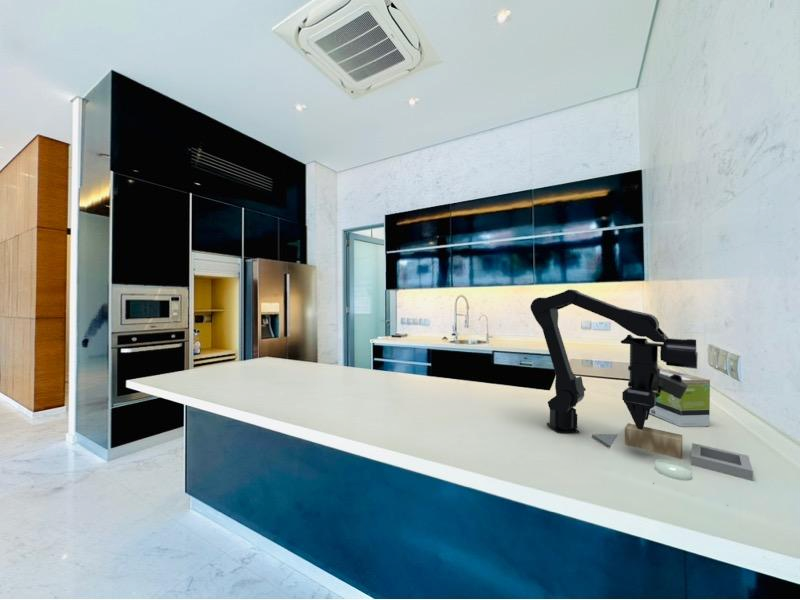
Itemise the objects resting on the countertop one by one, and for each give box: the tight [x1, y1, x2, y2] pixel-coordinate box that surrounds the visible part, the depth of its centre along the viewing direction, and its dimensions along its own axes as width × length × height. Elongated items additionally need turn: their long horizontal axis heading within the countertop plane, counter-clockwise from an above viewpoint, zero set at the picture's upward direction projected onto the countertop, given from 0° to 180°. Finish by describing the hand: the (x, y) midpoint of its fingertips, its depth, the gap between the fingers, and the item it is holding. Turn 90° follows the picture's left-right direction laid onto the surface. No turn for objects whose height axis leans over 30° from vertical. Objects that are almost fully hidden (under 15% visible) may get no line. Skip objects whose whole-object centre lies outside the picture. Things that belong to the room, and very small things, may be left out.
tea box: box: [649, 369, 711, 428], centre depth 108 cm, size 15×10×15 cm, turn 5°
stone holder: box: [690, 442, 754, 481], centre depth 75 cm, size 10×10×3 cm
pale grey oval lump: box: [654, 458, 693, 481], centre depth 71 cm, size 6×6×2 cm
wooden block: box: [624, 422, 683, 460], centre depth 83 cm, size 4×4×11 cm
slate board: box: [591, 433, 619, 449], centre depth 85 cm, size 14×14×1 cm
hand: (642, 424), depth 84 cm, fingers open, 9 cm apart
